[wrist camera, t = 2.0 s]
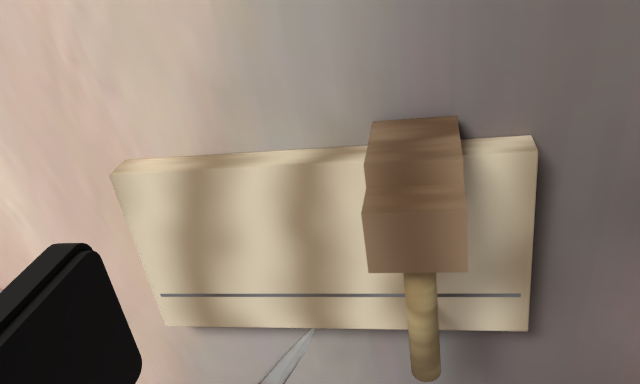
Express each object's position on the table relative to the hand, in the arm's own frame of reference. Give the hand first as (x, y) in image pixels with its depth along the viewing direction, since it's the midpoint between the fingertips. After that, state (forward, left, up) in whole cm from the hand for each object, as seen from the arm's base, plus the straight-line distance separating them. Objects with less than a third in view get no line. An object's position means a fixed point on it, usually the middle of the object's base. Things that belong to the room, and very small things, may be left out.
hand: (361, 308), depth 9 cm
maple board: (+6, +12, -20) cm, 24 cm away
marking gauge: (0, +11, -20) cm, 23 cm away
